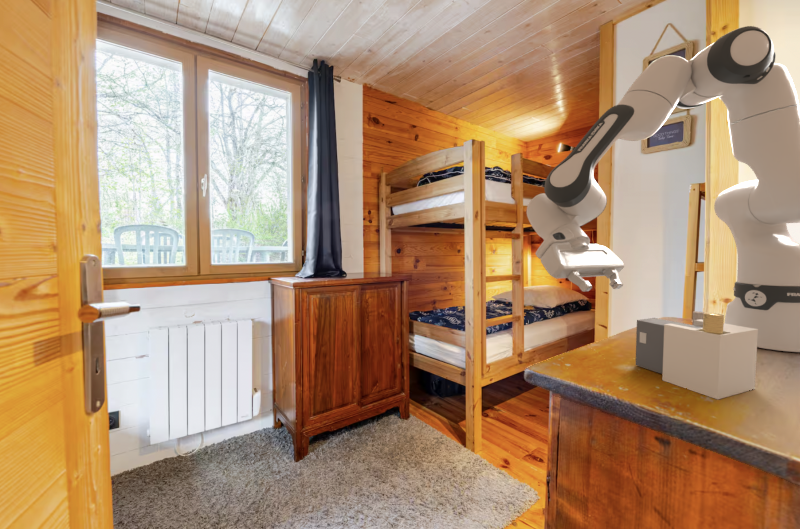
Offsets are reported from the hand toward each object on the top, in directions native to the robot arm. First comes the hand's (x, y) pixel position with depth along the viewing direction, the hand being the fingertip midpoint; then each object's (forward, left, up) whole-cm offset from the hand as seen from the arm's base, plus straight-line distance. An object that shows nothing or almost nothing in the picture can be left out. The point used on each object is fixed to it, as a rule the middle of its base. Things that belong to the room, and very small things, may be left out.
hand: (603, 288), depth 75 cm
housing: (0, +19, -14) cm, 24 cm away
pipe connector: (-12, +11, -14) cm, 22 cm away
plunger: (+3, +21, -7) cm, 23 cm away
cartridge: (0, +13, -14) cm, 20 cm away
